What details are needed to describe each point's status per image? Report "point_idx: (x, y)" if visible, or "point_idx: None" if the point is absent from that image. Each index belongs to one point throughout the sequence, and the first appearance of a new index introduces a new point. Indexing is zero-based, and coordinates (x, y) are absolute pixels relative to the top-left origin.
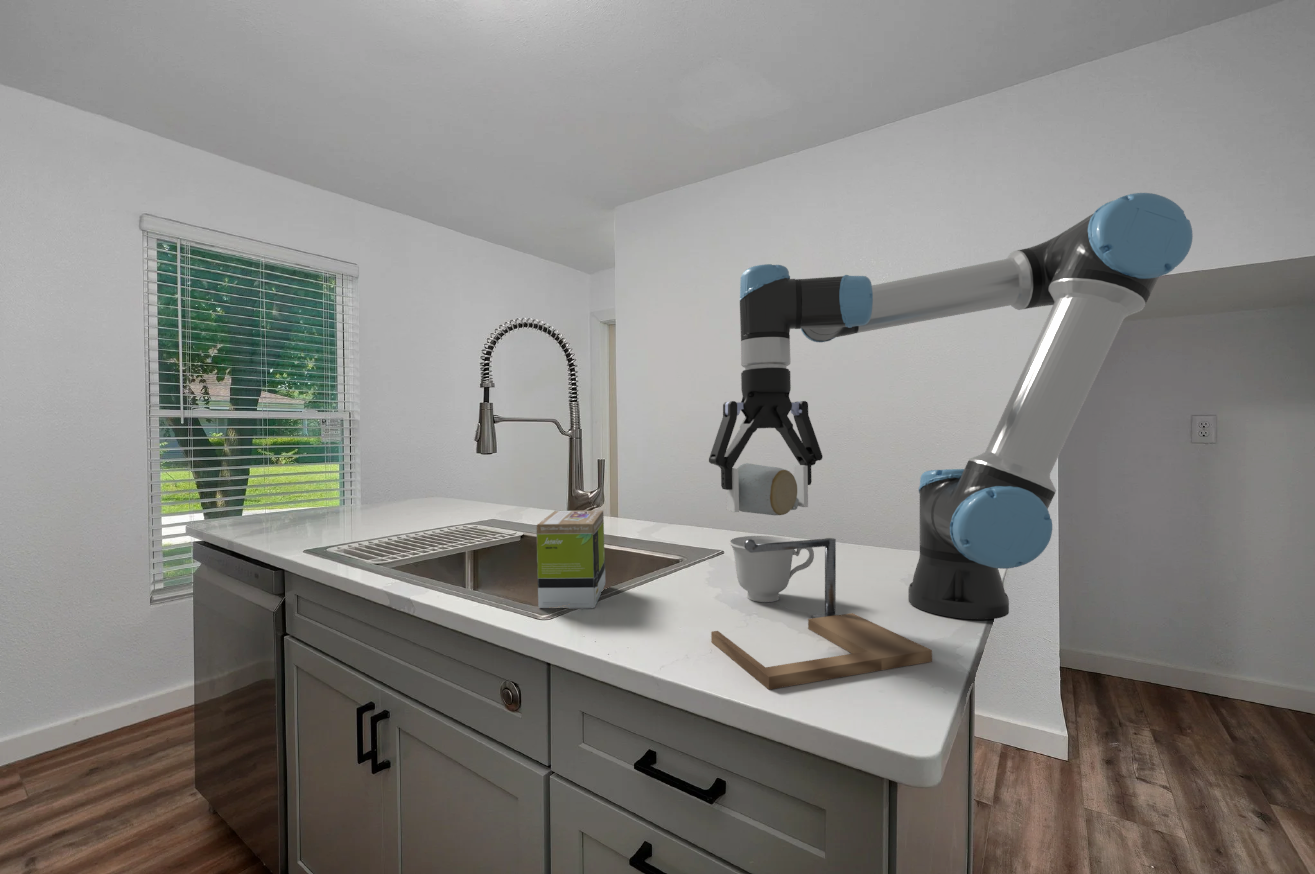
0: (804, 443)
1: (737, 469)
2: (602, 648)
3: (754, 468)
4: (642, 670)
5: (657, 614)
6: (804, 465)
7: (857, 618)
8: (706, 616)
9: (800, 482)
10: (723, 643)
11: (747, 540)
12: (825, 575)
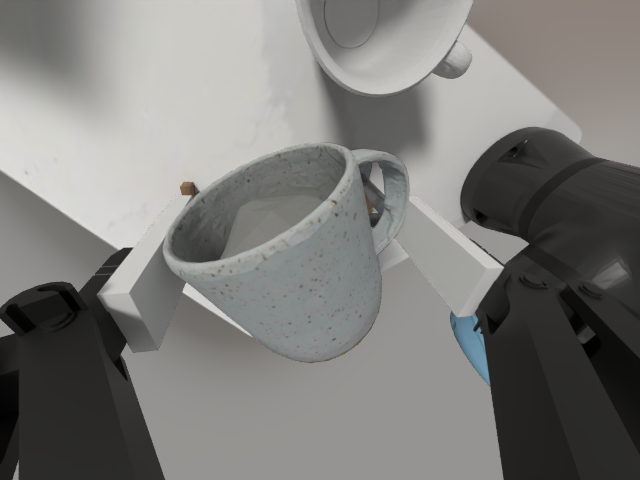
0: (623, 365)
1: (154, 347)
2: (9, 150)
3: (253, 324)
4: (86, 226)
5: (101, 14)
6: (479, 303)
7: (367, 204)
8: (203, 76)
9: (429, 261)
10: None
11: None
12: (367, 195)
